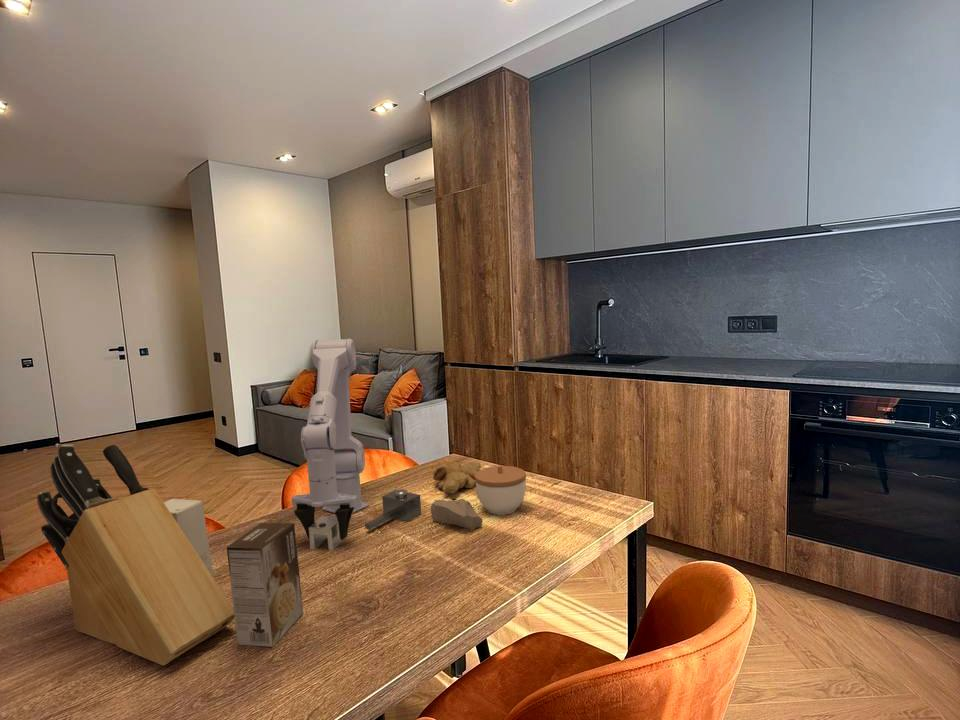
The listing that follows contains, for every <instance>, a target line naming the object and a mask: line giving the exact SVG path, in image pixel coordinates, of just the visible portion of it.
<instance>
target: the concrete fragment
mask: <svg viewBox="0 0 960 720" xmlns="http://www.w3.org/2000/svg"><path fill="white" fill-rule="evenodd" d="M430 513H431V518H432V521H433V522H438V523H441V524H449V525H454V526H458V527H461V528H466V529H467V530H468V529H469V530H471V531H473V530H475V529H477V528H482V526H483V522H484V521H483V518H482V517H481V516H480V515H479V514H478V513H477V512H476V510H475V508H474V507H473V505H472V504H471V503H470V501H468V500H465V499H464V498H459V499H457V498H455V497H453V498H452V497H451V498H449V499H448V500H445V499H435V500H434V501H433V502H432V503H431V505H430Z"/></svg>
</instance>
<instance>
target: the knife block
mask: <svg viewBox="0 0 960 720" xmlns="http://www.w3.org/2000/svg"><path fill="white" fill-rule="evenodd" d="M102 453H103V456H104V457H105V459H106V461H108V463H110V464H111V466H112V467H113V469H114V471H115V473H116V474H117V476H118V478H119V479H120V481H122V483H123V484H124V485H125V486H126V487H127V489H128V491H129V495H127V496H123V497H121V498H118V497H114V498H112V496H111V495H110V493H109V492H108V491H107V490H106V489H105V487H104V486H103V485H102V484H101V479H100V478H93V476H92V474H91V472H90V471H89V469H88V467H86V464H85V463H84V462H83V461H82V459H80V457H79V456H78V455H77V453H76V452H75V446H74V445H73V444H71V443H70V444H66V443H65V444H61V445H59V447H58V449H57V454H56V455H55V456H54V458H53V461H51V464H50V467H49V469H50V476H51V477H50V478H51V479H52V482H53V485H54V486H55V489H56V491H57V493H56V494H54V496H53V497H52V494H51V492H50V491H43V492H39V493H38V494H37V495H36V497H37V499H36V502H37V506H38V509H39V511H40V513H41V515H42V516H43V517H44V520H45V521H46V522H47V524H44V525H43V526H41V527H40V529H41V530H40V531H41V532H42V535H44V537H45V539H46V540H47V541H48V542H49V544H50V547H51V548H52V549H53V551H54V553H55V554H56V555H57V557H58V558H59V560H60V562H61V564H62V565H63V566H64V567H65V569H66V571H67V579H68V586H69V592H70V593H69V594H70V601H71V608H72V614H73V622H74V628H75V630H76V631H77V632H81V633H84V634H86V635H87V636H91V637H92V638H96V639H98V640H101V641H103V642H106V643H110V644H112V645H116V646H117V647H118V648H119V649H122V650H124V651H127V652H130V653H132V654H134V655H136V656H139V657H141V658H144V659H147V660H149V661H151V662H154V663H156V664H158V665H160V666H164V667H165V665H166V666H167V664H170V662H172V661H173V660H174V659H177V658H178V657H180V656H181V655H182V654H185V653H187V651H189V650H191V649H192V648H194V647H195V646H197V645H199V644H200V643H202V642H204V641H206V640H207V639H210V637H212V636H213V635H215V634H216V633H218V632H220V631H221V630H222V629H224V628H225V627H227V626H228V625H230V624H231V623H232V622H233V620H235V615H234V607H233V606H232V604H231V602H230V601H229V599H228V598H227V597H226V595H225V594H224V592H223V589H221V588H220V585H218V583H217V582H216V579H215V578H214V577H213V575H211V574H210V572H209V571H208V569H207V568H206V566H205V564H204V563H203V561H202V560H201V558H200V557H199V555H198V554H197V552H196V551H195V549H194V548H193V546H192V545H191V543H190V542H189V540H188V539H187V537H186V536H185V534H184V533H183V531H182V530H181V528H180V526H179V525H178V523H177V522H176V520H175V519H174V517H173V516H172V514H171V513H170V511H169V510H168V508H167V507H166V505H165V504H164V502H165V501H163V499H162V498H161V497H160V495H159V494H158V493H157V490H156V489H154V488H148V487H143V486H141V484H140V482H139V480H138V478H137V477H138V476H137V475H136V473H135V471H134V469H133V466H132V465H131V463H130V461H129V460H128V458H127V457H126V456H125V454H124V453H123V452H122V450H121V449H120V448H119V447H118V446H117V445H114V444H112V445H109V446H107V447H105V448H104V449H103V451H102ZM58 499H62V500H63V501H64V502H65V503H66V505H67V506H68V507H69V508H70V510H71V511H72V512H73V513H71V514H70V515H69V516H68V514H67V513H66V512H65V511H64V509H63V508H62V507H61V506H60V505H59V504H58Z"/></svg>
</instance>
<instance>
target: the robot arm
mask: <svg viewBox="0 0 960 720" xmlns="http://www.w3.org/2000/svg"><path fill="white" fill-rule="evenodd" d="M356 351H357V350H356V345H355V341H354V340H353V339H352V338H345V339H342V338H341V339H326V340H317V339H315V340H313V343H311V347H310V355H311V360H312V362H313V364H314V367H315V368H316V369H317V382H316V383H317V387H316V388H317V389H316V393H315V394H313V395H312V396H311V399H310V404H309V409H308V410H309V411H308V415H307V423H306V425H305V426H303V427H302V428H301V432H300V443H301V447H302V448H301V449H302V450H303V455H304V457H303V458H304V459H305V460H306V463H307V475H308V484H309V485H308V487H309V493H308V494H295V495H294V496H293V497H291V507H293V508H294V507H296V509H294V510H293V511H294V512H293V513H294V516H296V517H297V519H298V520H299V521H300V523H301V525H302V527H303V529H304V531H305V535H306V536H307V539H309V540H310V538H309V527H310V526H311V525H312V524H313V523H314V522H316V521H315V512H316V508H320V507H322V510H323V511H326V512H330V513H335V516H337V520H338V524H339V534H340V539H341V540H342V541H344V540H345V539H346V538H347V537H348V532H349V525H350V522H351V517H352V516H353V515H352V514H354V513H356V512H358V511H360V510H362V509H364V508H366V507H369V506H370V503H368V502H364V501H363V500H362V492H361V491H362V490H361V489H362V488H361V477H360V476H361V475H360V474H362V473H363V472H364V470H365V467H366V465H365V464H366V460H365V459H366V456H365V452H364V444H363V443H362V442H361V441H360V440H358V439H357V438H355V437H354V436H353V435H352V416H351V415H352V414H351V399H350V398H351V397H350V396H351V395H350V393H351V392H350V376H351V375H350V374H351V373H353V372H354V371H356V369H357V355H356V354H357V353H356Z"/></svg>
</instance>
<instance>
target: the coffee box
mask: <svg viewBox="0 0 960 720" xmlns="http://www.w3.org/2000/svg"><path fill="white" fill-rule="evenodd" d="M226 554H227V563H228V570H229V571H228V572H229V579H230V588H231V589H230V590H231V597H232V605H233V606H232V607H233V609H234V615H235V617H234V621H235V631H236V632H235V633H236V640H237V644H238V645H240V646H253V647H266V648H267V647H269V648H272V647H275V645H277V643H278V642H279V641H280V640H281V639H282V638H283V636H285V634H286V633H287V632H288V630H289V629H291V628H292V626H293V625H294V624H295V623H296V622H297V621H298V620H299V618H300V617H301V615H303V614H304V608H303V598H302V597H303V596H302V589H301V588H302V586H301V578H300V568H299V567H300V566H299V558H298V549H297V537H296V528H295V523H294V522H260V523H258V524H257V525H256V526H254V527H253V528H252V529H250V530H249V531H247V532H246V533H245V534H243V535H242V536H240V537H239V538H238V539H236V540H235V541H233V542H232V543H230V544H229V545H227V546H226Z"/></svg>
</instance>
